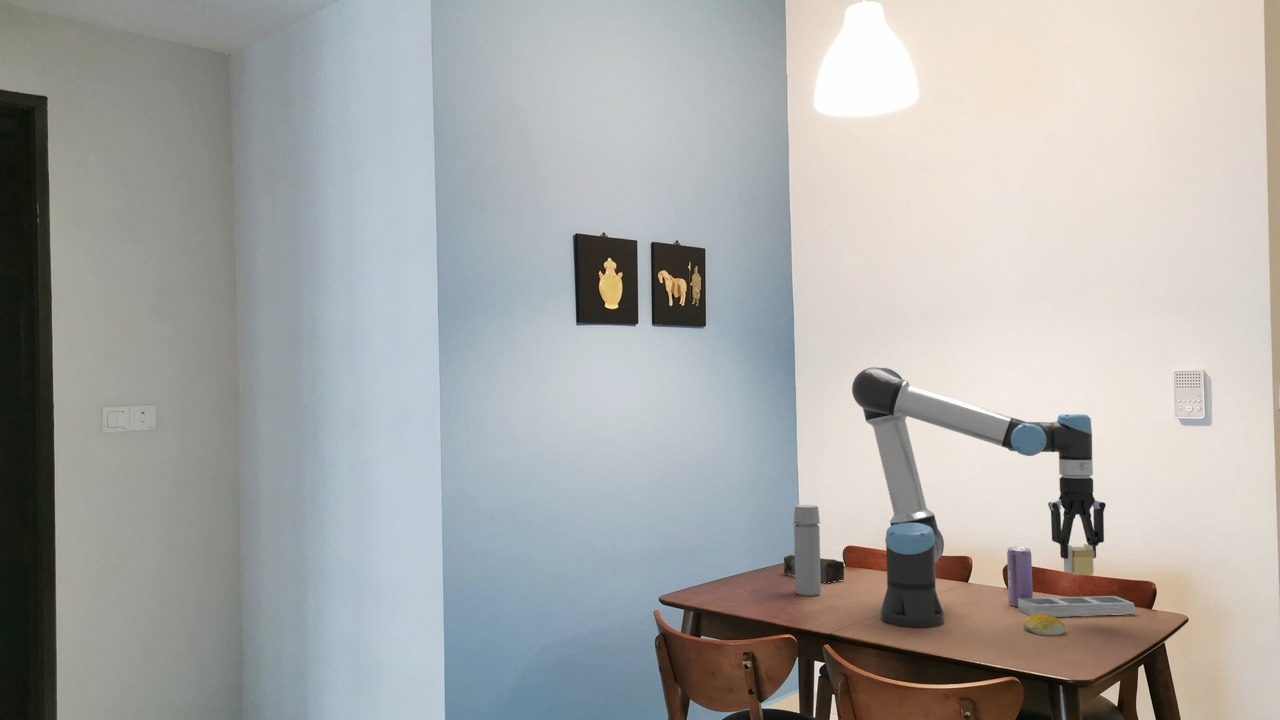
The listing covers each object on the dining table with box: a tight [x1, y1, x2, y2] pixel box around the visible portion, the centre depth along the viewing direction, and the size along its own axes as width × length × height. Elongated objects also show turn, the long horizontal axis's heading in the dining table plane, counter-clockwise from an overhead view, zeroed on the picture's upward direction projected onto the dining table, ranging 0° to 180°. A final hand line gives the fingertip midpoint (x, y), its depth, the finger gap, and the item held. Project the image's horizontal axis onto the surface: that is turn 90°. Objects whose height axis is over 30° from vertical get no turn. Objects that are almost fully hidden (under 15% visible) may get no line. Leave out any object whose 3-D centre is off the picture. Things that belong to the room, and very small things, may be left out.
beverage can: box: [1006, 546, 1034, 608], centre depth 242 cm, size 6×6×15 cm
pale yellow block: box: [1064, 546, 1095, 576], centre depth 223 cm, size 5×6×6 cm
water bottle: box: [791, 504, 822, 597], centre depth 261 cm, size 9×8×25 cm
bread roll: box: [1023, 614, 1066, 637], centre depth 215 cm, size 8×9×4 cm
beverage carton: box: [783, 554, 845, 584], centre depth 283 cm, size 8×19×7 cm, turn 35°
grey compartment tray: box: [1017, 595, 1136, 618], centre depth 233 cm, size 26×8×3 cm, turn 92°
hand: (1078, 571), depth 223 cm, fingers closed on pale yellow block, 4 cm apart
